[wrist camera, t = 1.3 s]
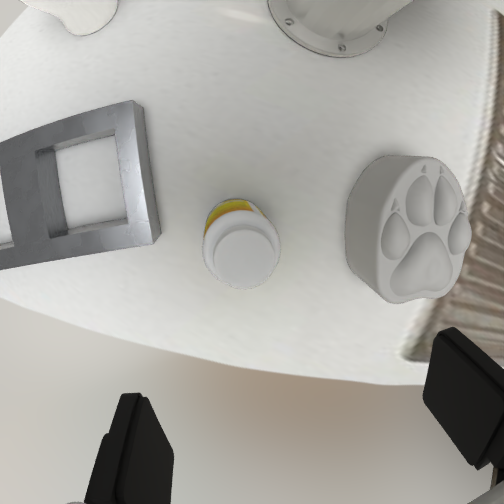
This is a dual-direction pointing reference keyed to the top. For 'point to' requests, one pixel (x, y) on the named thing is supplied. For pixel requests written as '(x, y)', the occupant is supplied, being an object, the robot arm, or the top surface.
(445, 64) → the top surface
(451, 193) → the lumpy-topped squat cylinder
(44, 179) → the cinder block
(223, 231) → the supplement bottle
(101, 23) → the beer glass
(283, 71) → the top surface
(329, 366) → the top surface
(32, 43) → the top surface
